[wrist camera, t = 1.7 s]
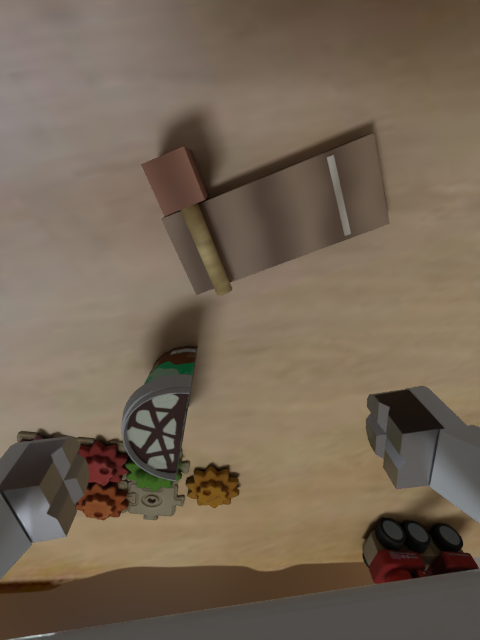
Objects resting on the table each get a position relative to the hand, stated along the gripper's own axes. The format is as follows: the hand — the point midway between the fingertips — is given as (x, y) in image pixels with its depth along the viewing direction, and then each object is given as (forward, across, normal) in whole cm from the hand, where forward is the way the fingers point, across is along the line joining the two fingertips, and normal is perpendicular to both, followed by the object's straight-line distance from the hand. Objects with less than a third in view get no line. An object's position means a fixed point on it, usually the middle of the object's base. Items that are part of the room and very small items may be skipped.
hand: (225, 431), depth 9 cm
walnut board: (+26, -6, -2) cm, 27 cm away
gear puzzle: (+28, +17, +32) cm, 46 cm away
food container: (+27, +8, +15) cm, 32 cm away
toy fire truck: (+27, -25, +51) cm, 63 cm away
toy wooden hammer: (+26, +1, -3) cm, 26 cm away
